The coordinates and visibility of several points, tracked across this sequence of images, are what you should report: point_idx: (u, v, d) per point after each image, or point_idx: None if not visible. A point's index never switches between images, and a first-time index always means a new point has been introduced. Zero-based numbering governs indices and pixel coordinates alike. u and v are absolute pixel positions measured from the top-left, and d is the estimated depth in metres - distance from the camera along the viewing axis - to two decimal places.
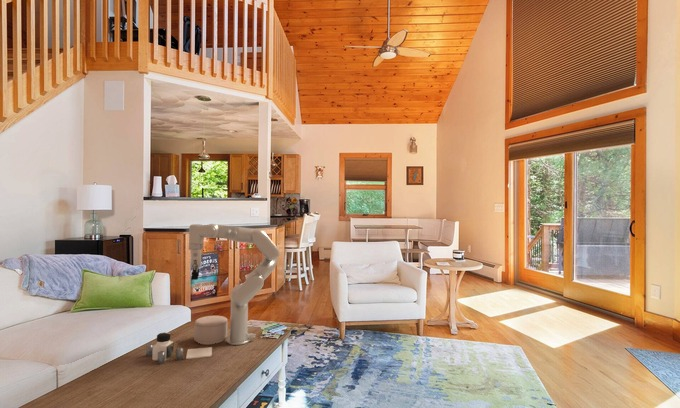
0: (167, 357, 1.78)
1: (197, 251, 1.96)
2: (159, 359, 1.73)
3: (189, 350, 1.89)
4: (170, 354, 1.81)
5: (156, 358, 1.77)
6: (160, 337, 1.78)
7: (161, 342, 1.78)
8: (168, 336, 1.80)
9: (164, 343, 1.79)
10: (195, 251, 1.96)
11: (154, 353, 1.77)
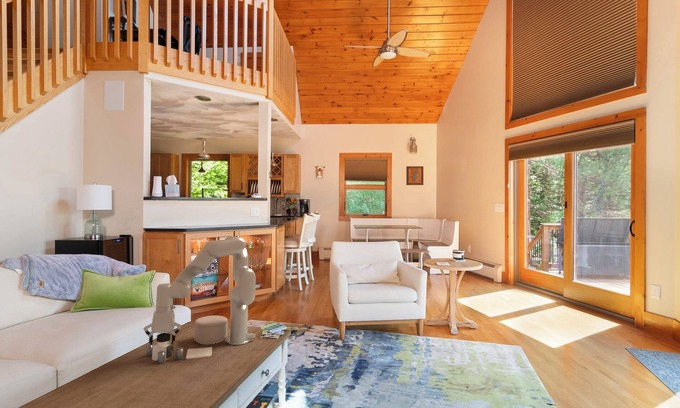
0: (167, 357, 1.78)
1: None
2: (159, 359, 1.73)
3: (189, 350, 1.89)
4: (170, 355, 1.81)
5: (156, 358, 1.77)
6: (160, 337, 1.78)
7: (161, 342, 1.78)
8: (168, 336, 1.80)
9: (164, 343, 1.79)
10: (173, 312, 1.83)
11: (154, 353, 1.77)
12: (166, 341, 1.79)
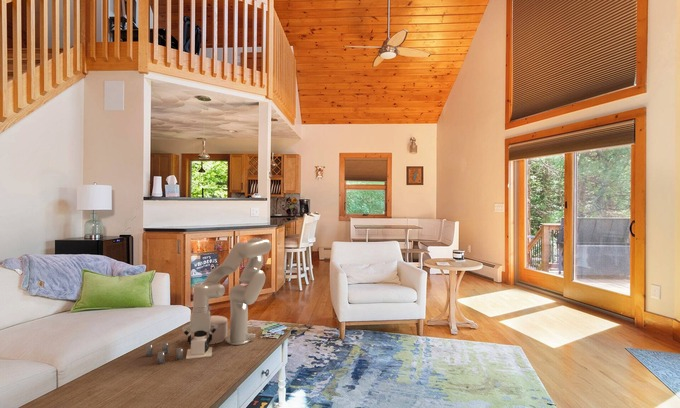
0: (205, 351, 1.85)
1: None
2: (159, 359, 1.73)
3: (189, 350, 1.89)
4: (207, 349, 1.88)
5: (194, 352, 1.84)
6: (198, 332, 1.85)
7: (199, 337, 1.85)
8: None
9: (202, 338, 1.85)
10: None
11: (192, 348, 1.84)
12: (204, 336, 1.86)
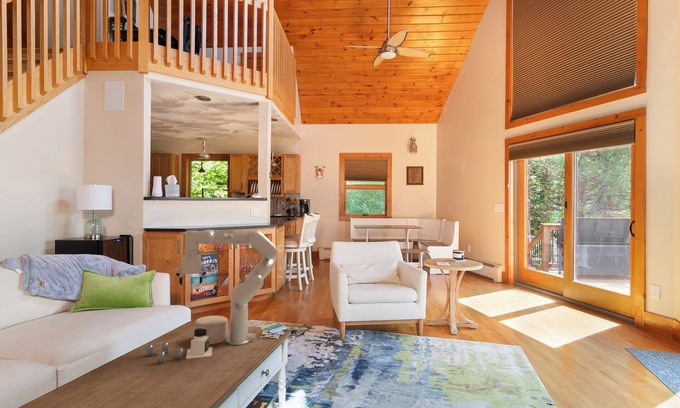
0: (205, 351, 1.85)
1: (200, 256, 2.01)
2: (159, 359, 1.73)
3: (189, 350, 1.89)
4: (207, 349, 1.88)
5: (194, 352, 1.84)
6: (198, 332, 1.85)
7: (199, 337, 1.85)
8: (205, 331, 1.87)
9: (202, 338, 1.85)
10: (200, 256, 2.00)
11: (192, 348, 1.84)
12: (204, 336, 1.86)
